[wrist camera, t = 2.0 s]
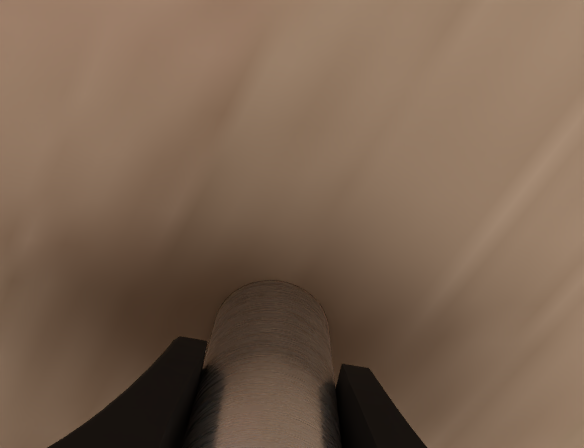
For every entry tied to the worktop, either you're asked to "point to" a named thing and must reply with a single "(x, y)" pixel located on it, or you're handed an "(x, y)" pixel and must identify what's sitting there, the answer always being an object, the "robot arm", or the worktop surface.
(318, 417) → the peg
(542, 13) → the worktop surface
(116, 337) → the worktop surface
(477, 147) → the worktop surface
